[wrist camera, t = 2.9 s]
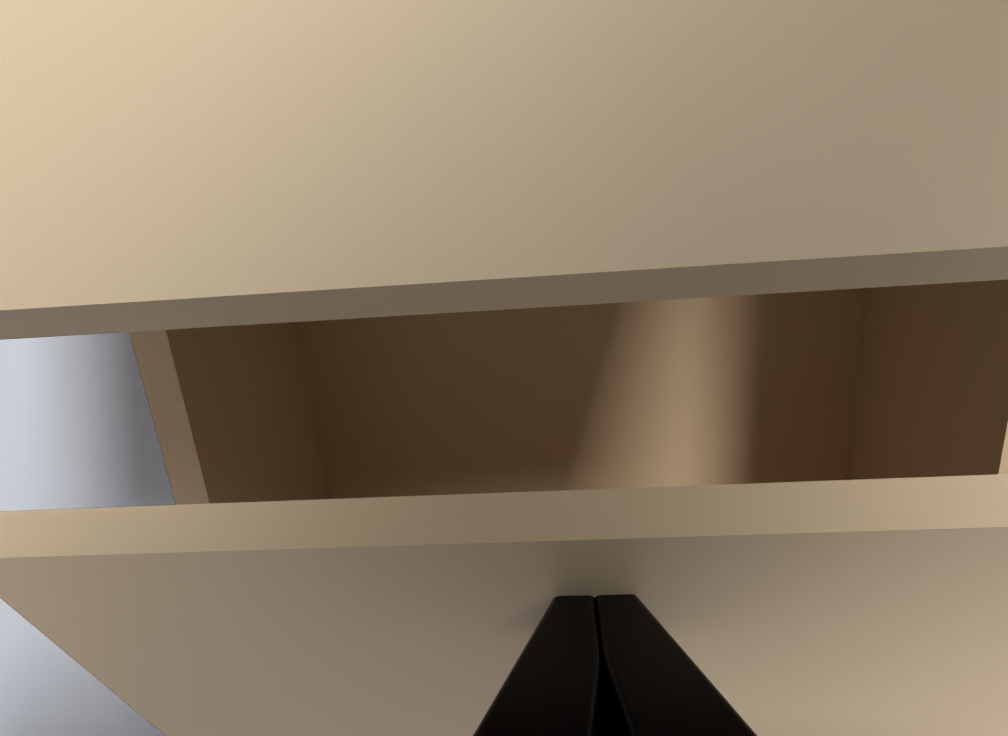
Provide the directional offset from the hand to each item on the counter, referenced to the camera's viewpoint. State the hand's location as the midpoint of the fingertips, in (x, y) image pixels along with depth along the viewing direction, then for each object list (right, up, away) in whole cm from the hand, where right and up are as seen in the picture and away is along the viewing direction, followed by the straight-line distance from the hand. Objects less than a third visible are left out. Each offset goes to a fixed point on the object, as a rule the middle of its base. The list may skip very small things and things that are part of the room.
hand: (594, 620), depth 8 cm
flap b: (0, -2, +2) cm, 3 cm away
